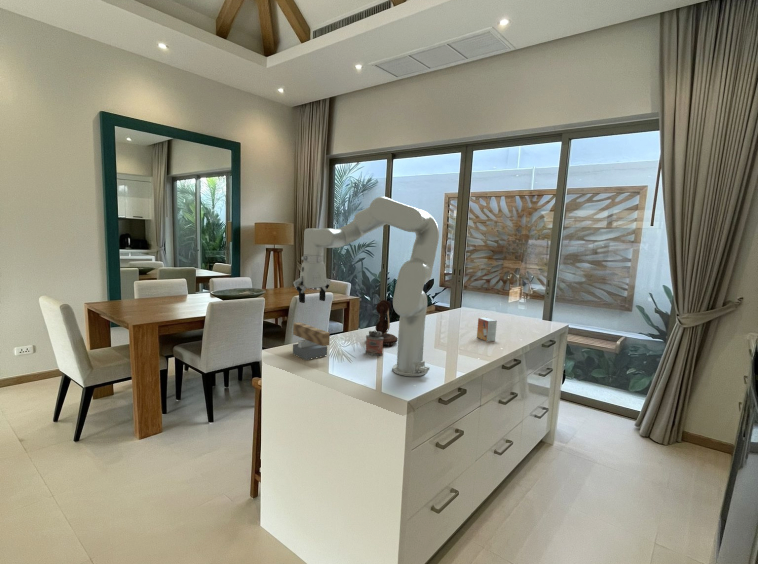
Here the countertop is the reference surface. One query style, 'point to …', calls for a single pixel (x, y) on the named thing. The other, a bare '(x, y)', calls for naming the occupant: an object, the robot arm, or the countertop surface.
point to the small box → (486, 329)
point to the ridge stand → (309, 349)
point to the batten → (311, 334)
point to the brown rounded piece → (384, 323)
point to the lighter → (374, 343)
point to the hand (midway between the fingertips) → (312, 301)
